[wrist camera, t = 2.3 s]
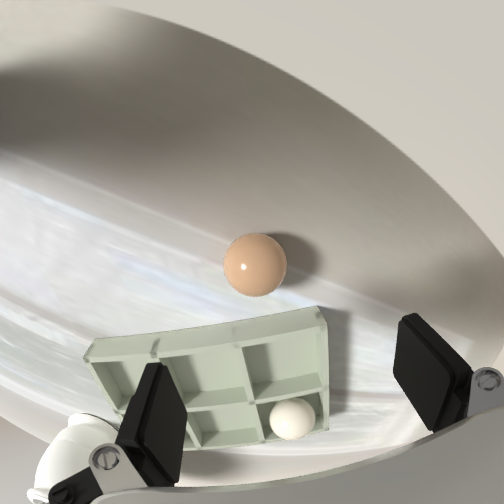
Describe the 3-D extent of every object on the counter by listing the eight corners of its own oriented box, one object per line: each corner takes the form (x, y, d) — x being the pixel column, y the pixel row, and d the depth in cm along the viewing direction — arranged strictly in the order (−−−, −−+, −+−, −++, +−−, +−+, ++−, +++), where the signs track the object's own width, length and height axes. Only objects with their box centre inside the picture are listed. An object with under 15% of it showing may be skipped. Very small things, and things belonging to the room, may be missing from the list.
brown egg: (218, 232, 23) (215, 250, 18) (277, 222, 23) (288, 237, 19) (230, 286, 24) (230, 313, 20) (284, 276, 24) (296, 301, 20)
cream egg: (264, 393, 27) (269, 427, 23) (309, 384, 27) (319, 416, 23) (269, 419, 28) (275, 451, 24) (310, 411, 29) (320, 442, 24)
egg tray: (94, 338, 25) (82, 357, 22) (316, 305, 25) (327, 324, 22) (146, 431, 30) (141, 450, 27) (322, 410, 30) (328, 430, 27)
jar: (57, 396, 28) (12, 482, 13) (130, 421, 29) (103, 523, 15) (69, 439, 31) (41, 513, 16) (132, 460, 32) (116, 542, 18)
